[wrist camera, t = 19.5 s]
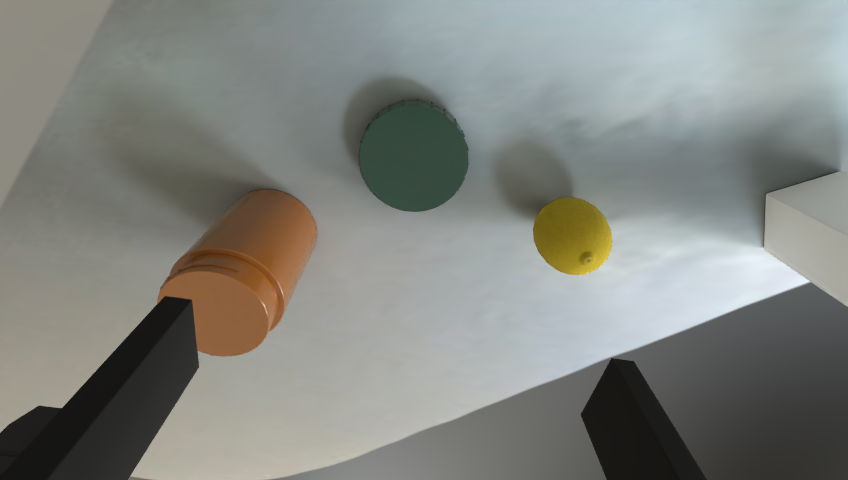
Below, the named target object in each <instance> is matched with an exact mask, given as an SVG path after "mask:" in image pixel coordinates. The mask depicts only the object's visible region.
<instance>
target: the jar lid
mask: <svg viewBox="0 0 848 480" xmlns="http://www.w3.org/2000/svg"><path fill="white" fill-rule="evenodd" d="M366 130H367V131H366V133H365V135H364V136H363V138H362V140H361V146H360V151H359V165H360V170H361V174H362V176H363V179H364V181H365V183H366V185H367V186H368V188H369V189H370V191H371V192H372V193H373V194H374V195H375V196H376V197H377V198H378V199H379V200H381V201H382V202H384V203H385V204H387V205H389V206H391V207H393V208H396V209H399V210H403V211H411V212H418V211H425V210H429V209H432V208H435V207H438V206H439V205H441V204H443V203H445V202H446V201H448V200H449V199H450V198H451V197H452V196H453V195H454V194H455V193H456V192H457V191H458V189H459V188H460V186H461V185H462V183H463V181H464V179H465V176H466V173H467V168H468V164H469V163H468V147H467V144H466V142H465V139H464V137H465V136H464V133H463V131H461V129H460V127H459V125H458V124H457V122H456V119H454V118H453V117H452V116H451V115H450V114H449V113H448V112H446V110H445V109H442V108H441V107H439V106H437V105H435V104H433V102H431V103H430V102H426V101H421V100H418V99H417V100H407V101H404V100H402V101H401V102H398V103H395V104H393V105H389V106H388V107H387V108H385V109H384V110H382V111H381V112H380V113H377V115H376V117H375V118H374V119H373V120H372V122H371V123H370V124H368V126H367V128H366Z"/></svg>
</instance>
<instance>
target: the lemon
mask: <svg viewBox="0 0 848 480" xmlns="http://www.w3.org/2000/svg"><path fill="white" fill-rule="evenodd" d="M533 235H534V242H535V244H536V247H537V249H538V252H539V253H540V255H541V256H542V257H543V258H544V260H545V261H546V262H547V263H548V264H549V265H551V266H552V267H554V268H555V269H556V270H558V271H560V272H563V273H566V274H571V275H582V274H586V273H590V272H592V271H594V270H596V269H597V268H599V267H600V266H601V265H602V264H603V263H604V262H605V261H606V259H607V258H608V256H609V254H610V251H611V247H612V235H611V230H610V227H609V225H608V223H607V221H606V219H605V217H604V216H603V214H602V213H601V212H600V211H599V210H598V209H597V208H596V207H595V206H594V205H592V204H590V203H589V202H587V201H585V200H582V199H578V198H574V197H564V198H560V199H556V200H554V201H552V202H550V203H549V204H547V205H546V206H545V207H543V209H542V210H541V211H540V212H539V213H538V215H537V217H536V219H535V223H534V228H533Z"/></svg>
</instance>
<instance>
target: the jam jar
mask: <svg viewBox="0 0 848 480" xmlns="http://www.w3.org/2000/svg"><path fill="white" fill-rule="evenodd" d="M316 241H317V227H316V224H315V221H314V219H313V216H312V215H311V213H310V212H309V210H308V209H307V208H306V207H305V206H304V205H303V204H302V203H301V202H300V201H299V200H297V199H296V198H294V197H293V196H291V195H289V194H287V193H284V192H281V191H277V190H270V189H262V190H256V191H252V192H249V193H247V194H245V195H244V196H242V197H241V198H240V199H239V200H238V201H237V202H236V203H235V204H234V205H233V206H232V207H231V208H230V209H229V210H228V211H227V212H226V213H225V214H224V215H223V216H222V217H221V218H220V219H219V220H218V221H217V222H216V223H215V224H214V225H213V226H212V227H211V228H210V229H209V230H208V231H207V232H206V233H205V234H204V235H203V236H202V237H201V238H200V239H199V240H198V241H197V242H196V243H195V244H194V245H193V246H192V247H191V248H190V249H189V250H188V251H187V252H186V253H185V254H184V255H183V256H182V257H181V258H180V259H179V260H178V261H177V262H176V263H175V264H174V266H173V268H172V269H171V272H170V275H169V276H168V278H167V279H166V281H165V282H164V284H163V285H162V287H161V288H160V293H159V296H158V302H157V304H158V303H159V302H160V301H161V300H162V299H163V297H164V296H170V297H177V298H184V299H191V300H192V303H193V313H194V323H195V333H196V343H197V351H200V352H203V353H206V354H210V355H213V356H223V357H225V356H236V355H241V354H244V353H247V352H249V351H251V350H253V349H255V348H256V347H258V346H259V345H260V344H261V343H262V342H263V341H264V339H265V338H266V336H267V334H268V332H270V331H271V330H272V329H274V328H275V327H276V326H277V325H278V323H279V322H280V320H281V318H282V316H283V314H284V312H285V310H286V308H287V306H288V303H289V301H290V299H291V297H292V295H293V293H294V290H295V288H296V286H297V284H298V282H299V280H300V277H301V275H302V273H303V271H304V269H305V267H306V264H307V262H308V260H309V258H310V256H311V254H312V251H313V249H314V247H315V244H316Z"/></svg>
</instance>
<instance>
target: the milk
mask: <svg viewBox="0 0 848 480" xmlns="http://www.w3.org/2000/svg"><path fill="white" fill-rule="evenodd" d="M764 250H765V251H767V252H768V253H769V254H771V255H772V256H774V257H775V258H777V259H778V260H780V261H781V262H783V263H784V264H786V265H787V266H789V267H790V268H791V269H793V270H794V271H796V272H797V273H799V274H800V275H802V276H803V277H805V278H806V279H808V280H809V281H811V282H812V283H814V284H815V285H817V286H818V287H819V288H821V289H822V290H824V291H825V292H827V293H828V294H830V295H831V296H833V297H834V298H836V299H837V300H839V301H840V302H842V303H843V304H844V305H846V306H847V307H848V173H847V172H844V171H839V172H836V173H833V174H829V175H826V176H823V177H819V178H816V179H813V180H810V181H806V182H803V183H800V184H796V185H793V186H790V187H787V188H783V189H780V190H777V191H773V192H770V193H767V194H766V207H765V235H764Z"/></svg>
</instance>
